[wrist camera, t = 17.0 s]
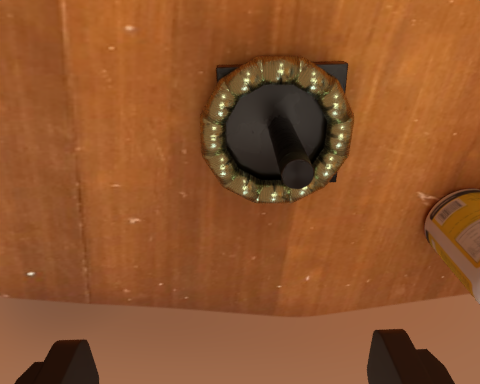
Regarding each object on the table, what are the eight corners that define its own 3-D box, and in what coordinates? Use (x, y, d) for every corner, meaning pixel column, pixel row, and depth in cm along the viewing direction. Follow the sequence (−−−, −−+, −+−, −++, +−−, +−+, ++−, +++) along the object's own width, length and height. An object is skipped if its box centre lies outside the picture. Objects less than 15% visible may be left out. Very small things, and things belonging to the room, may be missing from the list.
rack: (332, 176, 30) (369, 240, 22) (223, 179, 30) (219, 245, 22) (343, 61, 26) (394, 87, 18) (216, 65, 26) (209, 93, 18)
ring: (338, 195, 29) (344, 207, 28) (204, 196, 29) (203, 208, 28) (358, 54, 24) (367, 57, 23) (198, 54, 24) (195, 58, 23)
